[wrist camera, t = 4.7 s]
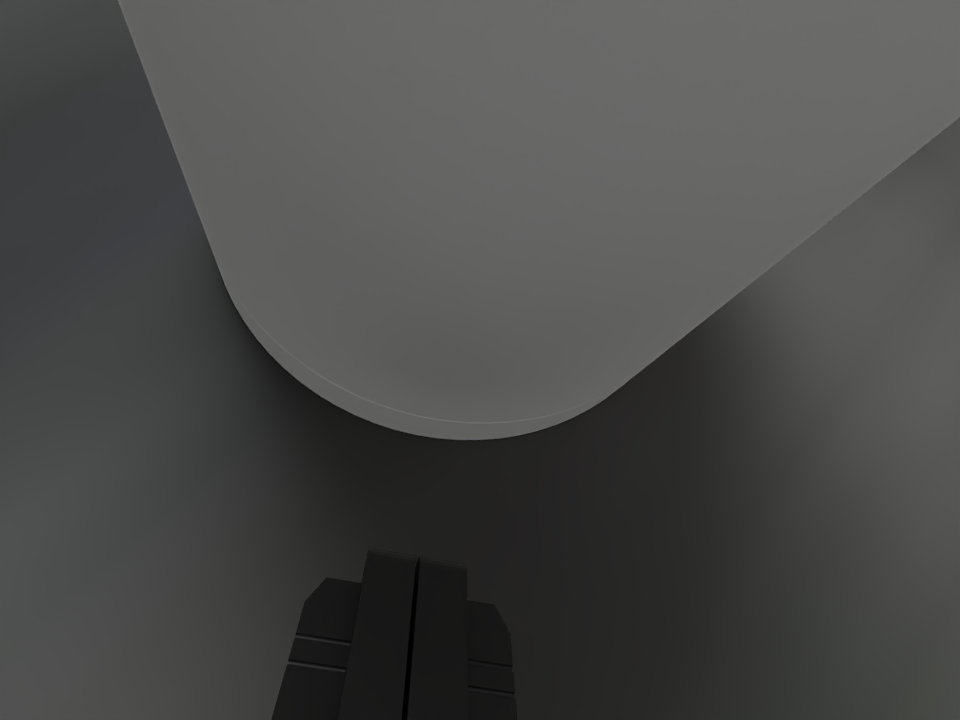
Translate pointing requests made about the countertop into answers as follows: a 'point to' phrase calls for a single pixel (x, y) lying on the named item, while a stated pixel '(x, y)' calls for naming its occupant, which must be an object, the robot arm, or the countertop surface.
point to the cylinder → (523, 176)
